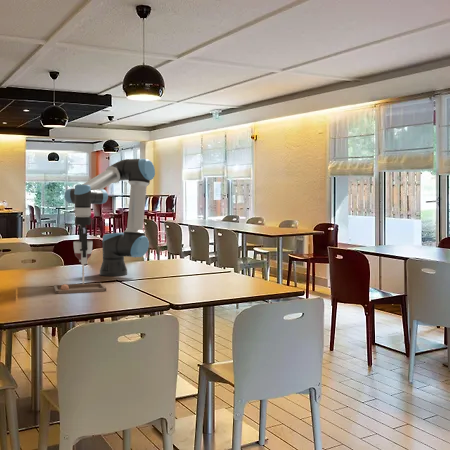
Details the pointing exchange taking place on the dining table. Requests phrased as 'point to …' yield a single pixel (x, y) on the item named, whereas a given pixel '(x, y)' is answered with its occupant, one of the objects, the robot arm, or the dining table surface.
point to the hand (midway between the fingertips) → (83, 263)
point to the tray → (81, 288)
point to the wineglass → (78, 253)
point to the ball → (64, 287)
